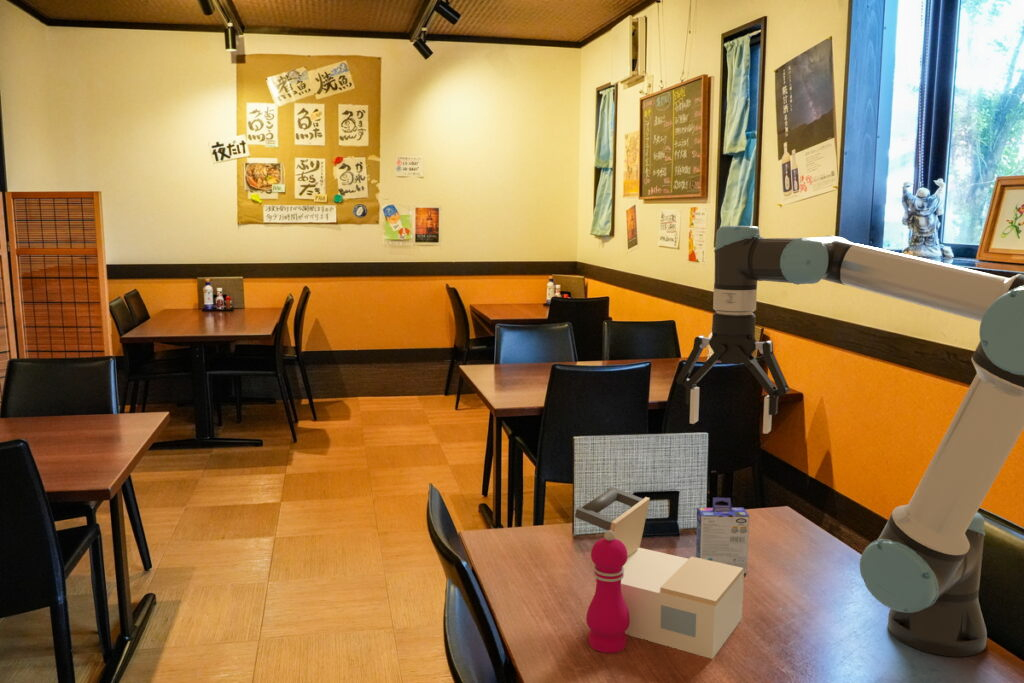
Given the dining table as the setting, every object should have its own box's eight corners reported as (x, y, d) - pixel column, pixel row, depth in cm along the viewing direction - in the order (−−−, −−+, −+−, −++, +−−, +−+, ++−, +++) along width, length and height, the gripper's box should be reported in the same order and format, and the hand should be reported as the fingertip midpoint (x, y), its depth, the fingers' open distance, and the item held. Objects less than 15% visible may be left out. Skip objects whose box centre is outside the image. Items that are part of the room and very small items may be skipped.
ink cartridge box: (741, 563, 175) (744, 495, 172) (748, 574, 169) (751, 505, 167) (693, 562, 175) (696, 495, 173) (699, 574, 169) (701, 504, 167)
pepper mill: (601, 629, 147) (603, 519, 144) (637, 642, 143) (640, 529, 140) (577, 645, 142) (579, 531, 139) (614, 659, 137) (616, 542, 134)
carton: (741, 618, 151) (744, 566, 149) (712, 659, 137) (714, 602, 136) (637, 592, 161) (639, 543, 160) (600, 627, 148) (601, 574, 146)
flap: (650, 498, 157) (612, 484, 161) (615, 523, 144) (575, 507, 148) (639, 546, 159) (603, 531, 163) (605, 575, 147) (566, 558, 150)
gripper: (661, 310, 156) (658, 422, 159) (800, 319, 143) (794, 441, 146) (675, 306, 162) (672, 414, 165) (810, 314, 149) (804, 431, 152)
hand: (729, 427), depth 156 cm, fingers open, 13 cm apart
